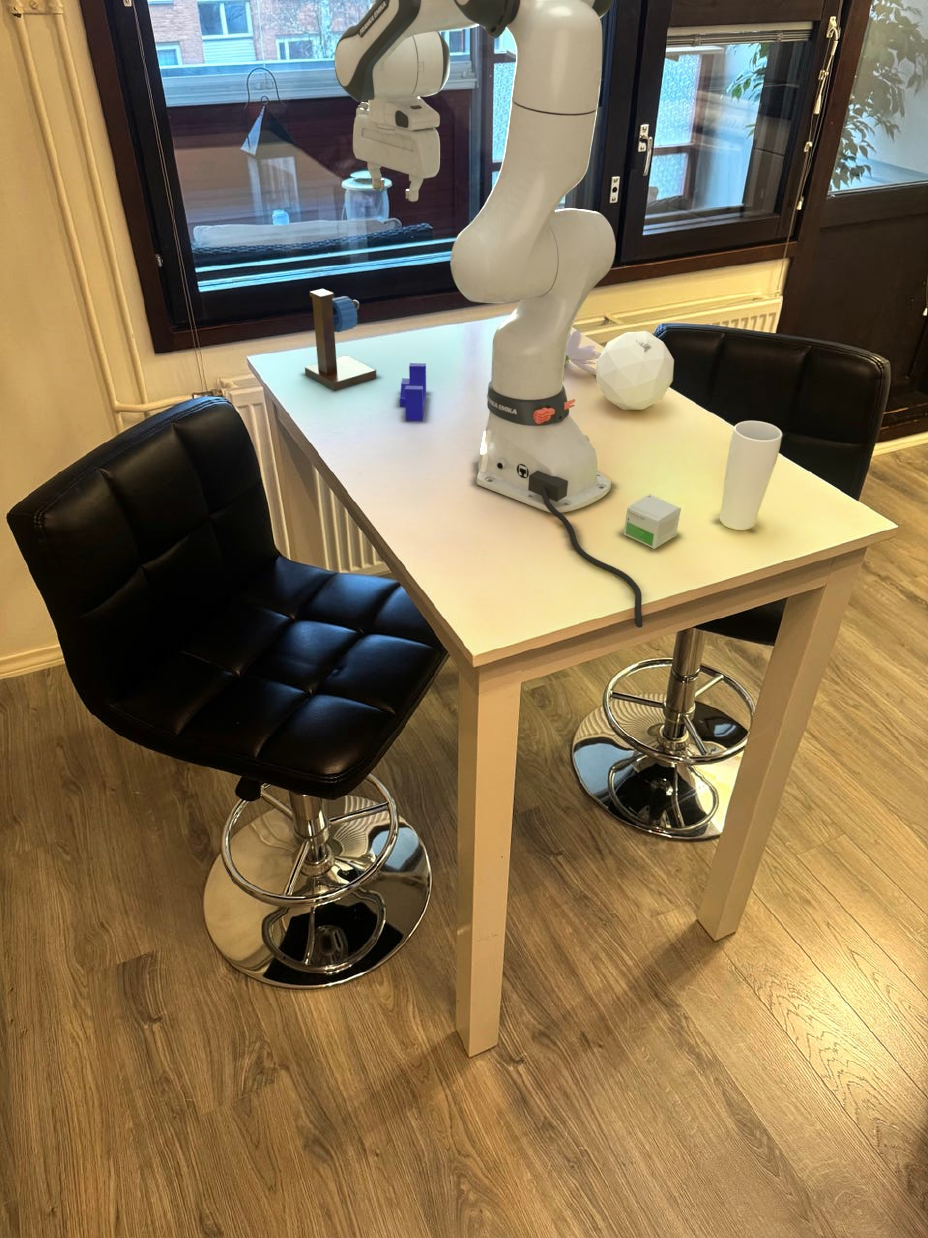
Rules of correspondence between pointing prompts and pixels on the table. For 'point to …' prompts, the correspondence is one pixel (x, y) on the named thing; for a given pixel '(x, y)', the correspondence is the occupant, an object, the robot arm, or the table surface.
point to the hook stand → (333, 349)
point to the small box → (652, 521)
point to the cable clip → (414, 392)
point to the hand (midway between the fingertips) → (395, 194)
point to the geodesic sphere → (634, 370)
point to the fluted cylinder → (344, 314)
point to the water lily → (580, 353)
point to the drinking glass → (748, 472)
